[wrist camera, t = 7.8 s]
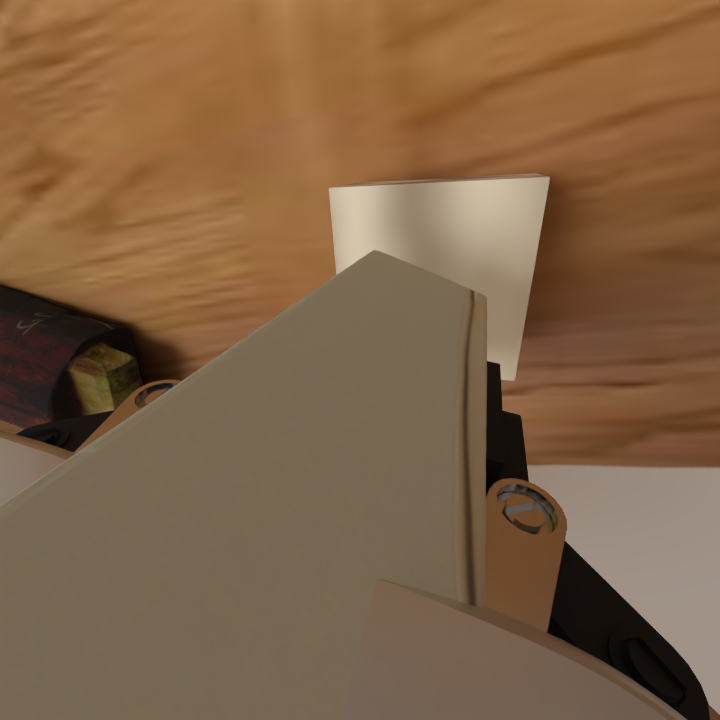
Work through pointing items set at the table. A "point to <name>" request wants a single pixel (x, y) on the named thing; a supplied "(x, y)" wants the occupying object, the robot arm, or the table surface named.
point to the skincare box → (257, 514)
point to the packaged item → (60, 362)
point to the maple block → (454, 239)
